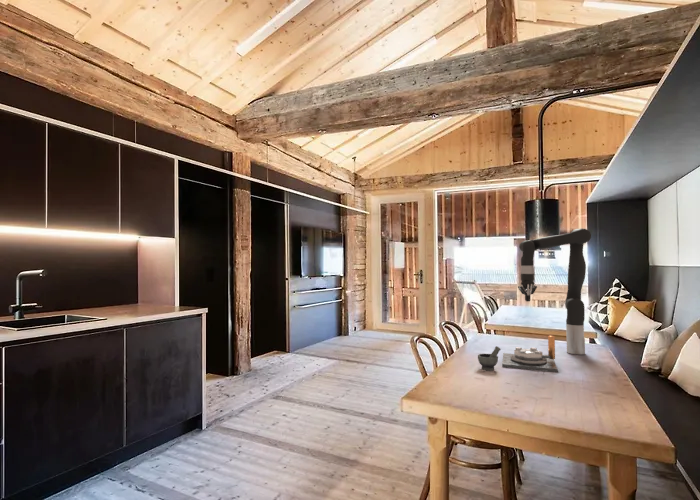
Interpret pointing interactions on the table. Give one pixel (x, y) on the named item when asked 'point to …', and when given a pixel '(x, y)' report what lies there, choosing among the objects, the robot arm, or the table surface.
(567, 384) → the table surface
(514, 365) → the base plate
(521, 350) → the grey disc with handle
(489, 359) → the mortar and pestle
